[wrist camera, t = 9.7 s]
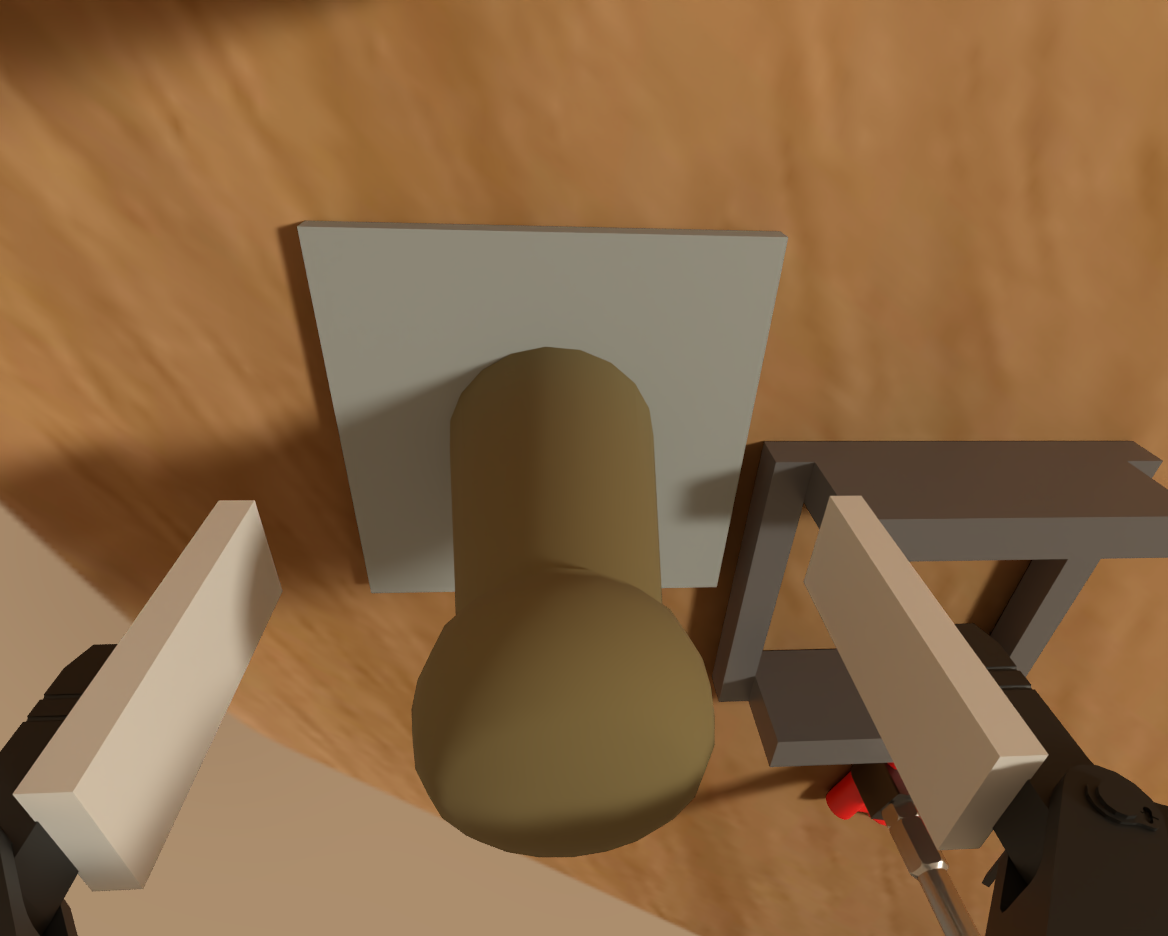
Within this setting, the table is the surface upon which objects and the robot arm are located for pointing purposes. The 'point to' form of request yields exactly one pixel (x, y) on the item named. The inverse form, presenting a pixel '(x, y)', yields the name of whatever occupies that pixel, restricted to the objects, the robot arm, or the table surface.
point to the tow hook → (903, 836)
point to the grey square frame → (926, 558)
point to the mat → (524, 322)
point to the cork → (558, 622)
